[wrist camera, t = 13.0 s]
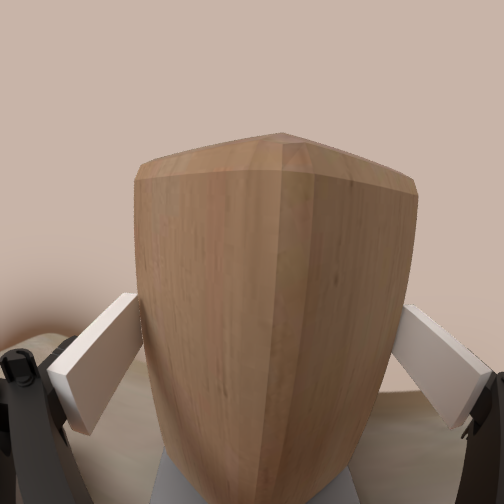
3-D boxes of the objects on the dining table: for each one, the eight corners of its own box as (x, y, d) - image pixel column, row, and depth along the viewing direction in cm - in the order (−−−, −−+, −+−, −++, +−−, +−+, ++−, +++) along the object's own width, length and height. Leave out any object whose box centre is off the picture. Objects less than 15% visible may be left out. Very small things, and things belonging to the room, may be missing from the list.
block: (162, 452, 16) (129, 160, 12) (261, 407, 23) (277, 170, 19) (248, 546, 9) (284, 117, 5) (350, 465, 16) (424, 176, 11)
